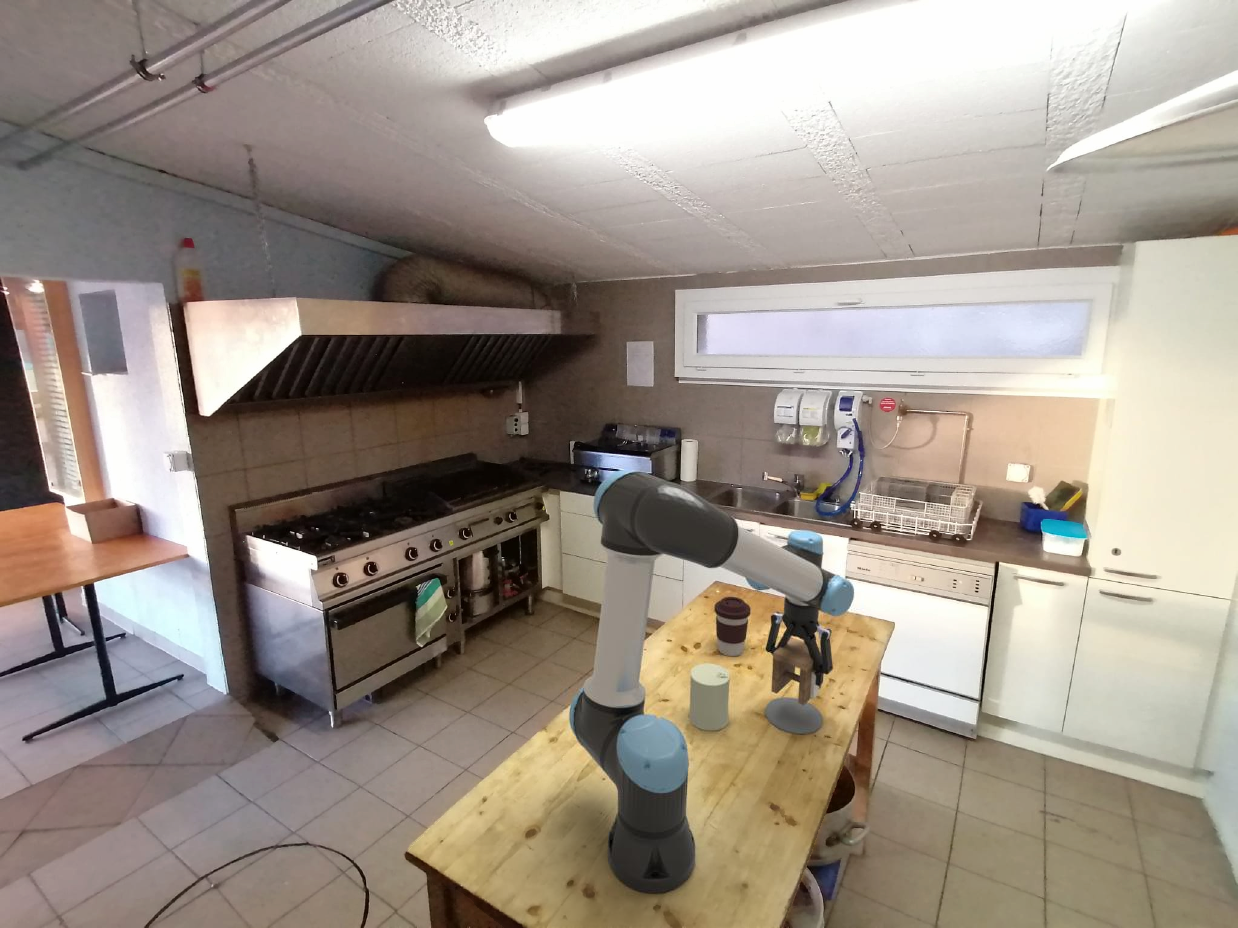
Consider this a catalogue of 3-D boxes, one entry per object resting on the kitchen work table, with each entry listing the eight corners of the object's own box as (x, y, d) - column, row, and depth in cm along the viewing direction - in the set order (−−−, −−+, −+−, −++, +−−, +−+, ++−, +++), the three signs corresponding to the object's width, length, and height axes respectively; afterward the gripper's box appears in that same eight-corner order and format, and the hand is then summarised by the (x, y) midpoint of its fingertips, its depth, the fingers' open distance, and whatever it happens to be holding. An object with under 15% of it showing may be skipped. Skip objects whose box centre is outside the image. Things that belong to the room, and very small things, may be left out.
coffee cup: (753, 647, 170) (755, 599, 167) (740, 663, 162) (743, 612, 159) (721, 638, 175) (723, 591, 172) (707, 652, 167) (709, 603, 164)
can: (727, 733, 133) (730, 685, 131) (687, 728, 135) (688, 680, 133) (728, 708, 142) (730, 663, 140) (690, 703, 144) (691, 659, 141)
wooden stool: (820, 687, 139) (823, 648, 136) (803, 705, 132) (806, 665, 130) (789, 674, 144) (791, 637, 142) (771, 691, 137) (773, 652, 135)
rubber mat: (807, 742, 130) (807, 739, 130) (755, 717, 139) (755, 714, 139) (831, 714, 140) (831, 712, 140) (781, 692, 148) (781, 690, 148)
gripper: (854, 606, 129) (846, 699, 134) (768, 580, 143) (763, 665, 148) (840, 619, 123) (833, 714, 128) (752, 590, 137) (748, 678, 142)
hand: (796, 688), depth 138 cm, fingers closed on wooden stool, 8 cm apart
